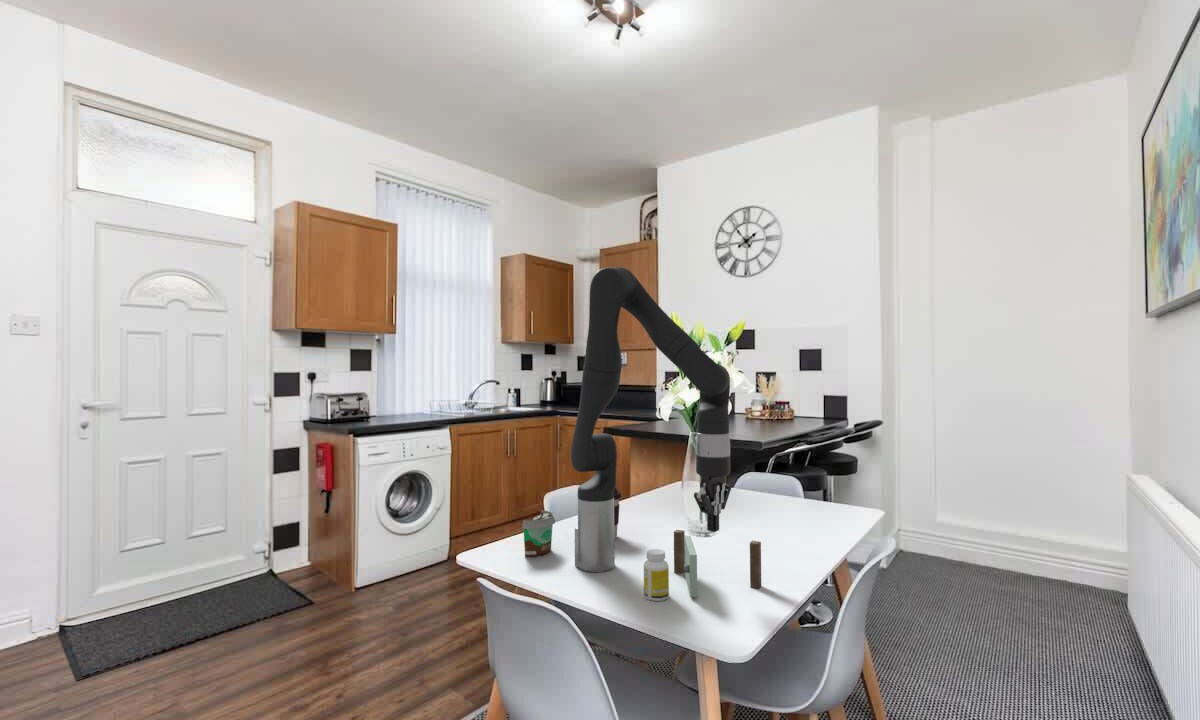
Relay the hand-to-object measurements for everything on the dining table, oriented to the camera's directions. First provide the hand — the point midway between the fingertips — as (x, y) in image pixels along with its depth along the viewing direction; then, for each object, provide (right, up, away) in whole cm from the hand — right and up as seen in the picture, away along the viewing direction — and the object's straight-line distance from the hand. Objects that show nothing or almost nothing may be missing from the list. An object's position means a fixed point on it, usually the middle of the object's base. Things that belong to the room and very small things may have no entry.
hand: (713, 530), depth 123 cm
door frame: (+2, -14, +7) cm, 15 cm away
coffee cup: (-24, -15, +40) cm, 49 cm away
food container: (-41, -15, +27) cm, 51 cm away
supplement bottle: (-13, -14, -3) cm, 19 cm away
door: (-5, -13, +3) cm, 14 cm away
